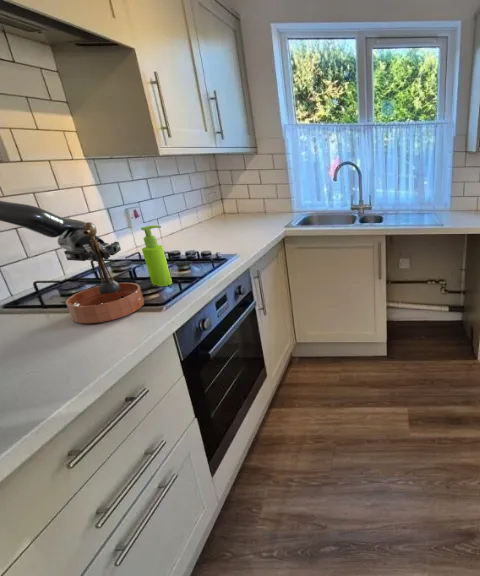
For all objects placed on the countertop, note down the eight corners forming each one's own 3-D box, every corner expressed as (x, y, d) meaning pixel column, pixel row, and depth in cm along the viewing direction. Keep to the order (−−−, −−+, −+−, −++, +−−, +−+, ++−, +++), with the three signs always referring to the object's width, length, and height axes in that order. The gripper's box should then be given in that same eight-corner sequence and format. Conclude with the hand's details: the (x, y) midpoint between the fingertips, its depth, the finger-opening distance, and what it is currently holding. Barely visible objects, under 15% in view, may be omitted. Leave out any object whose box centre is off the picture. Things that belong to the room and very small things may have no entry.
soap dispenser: (178, 282, 125) (163, 225, 117) (156, 289, 120) (139, 229, 112) (171, 279, 128) (156, 223, 120) (150, 284, 123) (133, 227, 116)
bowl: (79, 331, 94) (72, 312, 92) (67, 312, 105) (60, 295, 102) (153, 309, 105) (147, 292, 103) (135, 294, 116) (130, 278, 114)
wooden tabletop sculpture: (116, 294, 102) (93, 224, 94) (97, 296, 100) (71, 225, 93) (122, 286, 107) (100, 219, 99) (103, 288, 106) (80, 221, 98)
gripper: (53, 237, 103) (64, 249, 92) (110, 228, 112) (126, 238, 101) (62, 262, 105) (74, 276, 95) (117, 252, 115) (134, 263, 104)
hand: (101, 256), depth 98 cm, fingers closed on wooden tabletop sculpture, 1 cm apart
